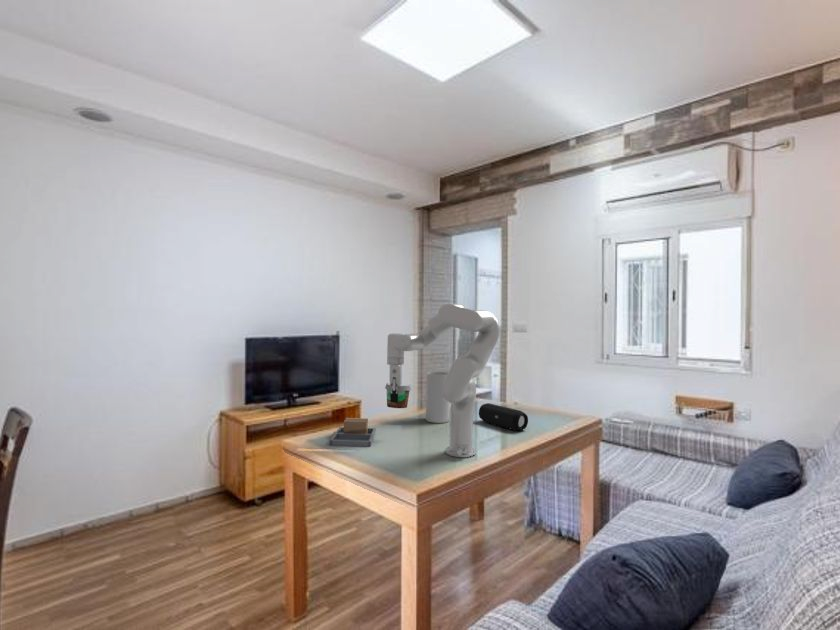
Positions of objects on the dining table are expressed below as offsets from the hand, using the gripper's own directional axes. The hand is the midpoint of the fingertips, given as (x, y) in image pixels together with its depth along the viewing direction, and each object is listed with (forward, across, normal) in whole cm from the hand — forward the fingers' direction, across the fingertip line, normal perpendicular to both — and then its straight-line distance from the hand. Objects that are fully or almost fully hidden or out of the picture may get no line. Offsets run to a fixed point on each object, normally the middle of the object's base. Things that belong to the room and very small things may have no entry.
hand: (394, 400), depth 204 cm
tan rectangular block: (+16, 0, +17) cm, 24 cm away
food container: (+3, -1, 0) cm, 3 cm away
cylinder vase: (+18, +35, -21) cm, 44 cm away
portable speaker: (+18, +28, -54) cm, 63 cm away
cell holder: (+17, -5, +17) cm, 25 cm away
